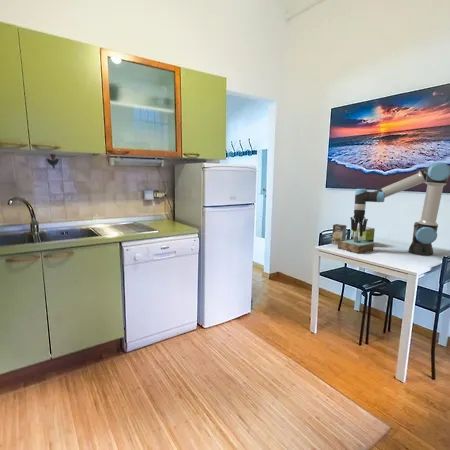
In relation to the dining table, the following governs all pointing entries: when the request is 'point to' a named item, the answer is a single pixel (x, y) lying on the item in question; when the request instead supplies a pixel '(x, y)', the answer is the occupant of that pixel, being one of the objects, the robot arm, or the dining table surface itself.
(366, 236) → the tea box
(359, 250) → the walnut box
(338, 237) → the coffee box
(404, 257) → the dining table surface
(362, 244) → the cover plate
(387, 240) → the dining table surface
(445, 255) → the dining table surface
